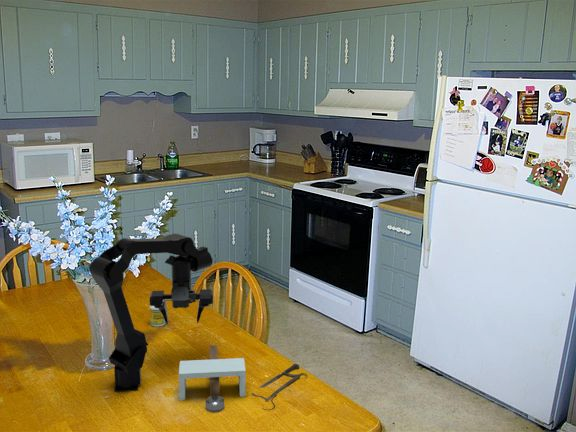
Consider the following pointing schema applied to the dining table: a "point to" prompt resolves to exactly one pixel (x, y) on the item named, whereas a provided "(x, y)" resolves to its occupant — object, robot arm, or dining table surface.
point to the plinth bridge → (211, 371)
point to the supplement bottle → (156, 317)
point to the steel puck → (214, 403)
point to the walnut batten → (214, 380)
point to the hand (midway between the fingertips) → (182, 323)
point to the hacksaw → (286, 372)
